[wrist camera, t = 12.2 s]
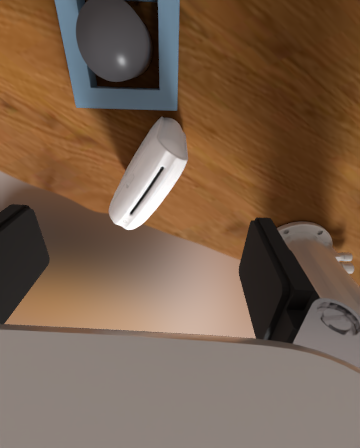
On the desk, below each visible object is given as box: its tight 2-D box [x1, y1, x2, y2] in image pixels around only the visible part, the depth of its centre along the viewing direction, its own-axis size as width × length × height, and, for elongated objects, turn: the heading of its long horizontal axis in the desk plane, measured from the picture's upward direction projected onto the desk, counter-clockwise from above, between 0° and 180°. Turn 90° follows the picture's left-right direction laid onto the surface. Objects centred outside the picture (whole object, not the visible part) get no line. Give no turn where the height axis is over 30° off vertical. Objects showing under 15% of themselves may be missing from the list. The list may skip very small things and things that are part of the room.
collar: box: [55, 0, 179, 111], centre depth 23 cm, size 11×11×2 cm
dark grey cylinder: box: [76, 0, 153, 82], centre depth 21 cm, size 6×6×7 cm
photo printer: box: [109, 116, 188, 230], centre depth 26 cm, size 10×4×12 cm, turn 144°
